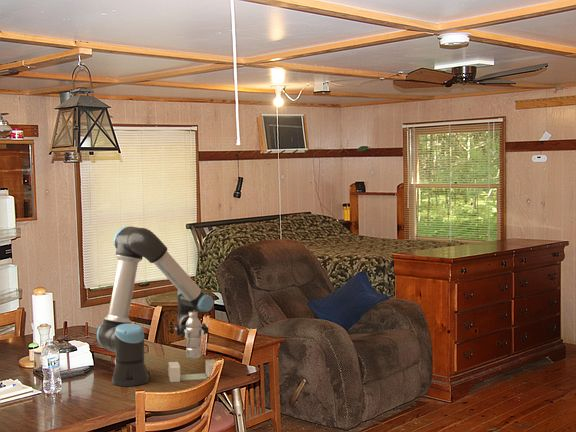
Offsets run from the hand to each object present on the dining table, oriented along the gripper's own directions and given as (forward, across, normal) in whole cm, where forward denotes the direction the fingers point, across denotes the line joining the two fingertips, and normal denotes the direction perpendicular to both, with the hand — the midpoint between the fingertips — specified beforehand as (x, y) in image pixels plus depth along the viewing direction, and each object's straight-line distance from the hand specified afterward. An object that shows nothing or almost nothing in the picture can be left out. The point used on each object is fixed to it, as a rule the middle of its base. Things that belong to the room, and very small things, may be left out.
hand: (194, 335), depth 323 cm
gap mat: (-5, 0, -19) cm, 20 cm away
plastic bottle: (-5, 0, -11) cm, 12 cm away
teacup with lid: (-33, +63, -19) cm, 74 cm away
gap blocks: (-5, 0, -19) cm, 20 cm away
